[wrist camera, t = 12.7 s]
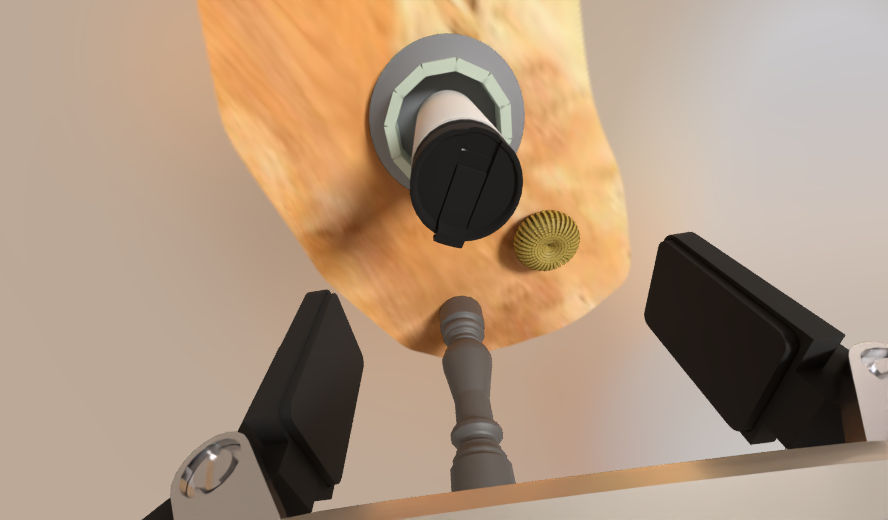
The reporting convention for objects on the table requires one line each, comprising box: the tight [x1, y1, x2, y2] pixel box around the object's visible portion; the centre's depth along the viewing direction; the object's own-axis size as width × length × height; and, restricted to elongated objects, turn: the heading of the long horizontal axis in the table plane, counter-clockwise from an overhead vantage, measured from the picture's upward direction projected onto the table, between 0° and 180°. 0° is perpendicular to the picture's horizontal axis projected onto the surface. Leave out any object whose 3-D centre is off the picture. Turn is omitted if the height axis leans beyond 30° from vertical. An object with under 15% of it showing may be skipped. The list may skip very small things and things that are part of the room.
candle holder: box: [440, 296, 516, 492], centre depth 39 cm, size 6×6×25 cm
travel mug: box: [410, 89, 523, 248], centre depth 26 cm, size 6×7×20 cm
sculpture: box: [514, 210, 580, 271], centre depth 41 cm, size 8×4×8 cm
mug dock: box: [369, 34, 525, 190], centre depth 34 cm, size 16×16×4 cm
